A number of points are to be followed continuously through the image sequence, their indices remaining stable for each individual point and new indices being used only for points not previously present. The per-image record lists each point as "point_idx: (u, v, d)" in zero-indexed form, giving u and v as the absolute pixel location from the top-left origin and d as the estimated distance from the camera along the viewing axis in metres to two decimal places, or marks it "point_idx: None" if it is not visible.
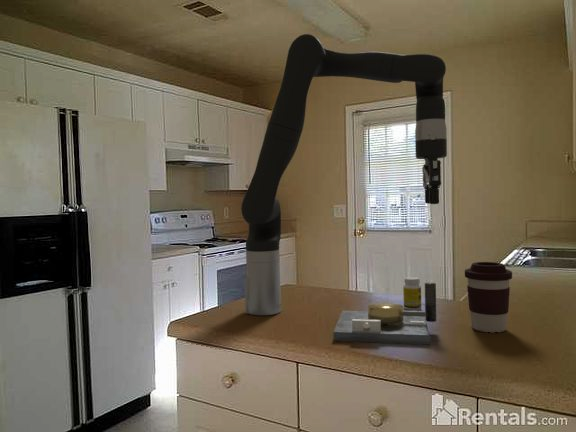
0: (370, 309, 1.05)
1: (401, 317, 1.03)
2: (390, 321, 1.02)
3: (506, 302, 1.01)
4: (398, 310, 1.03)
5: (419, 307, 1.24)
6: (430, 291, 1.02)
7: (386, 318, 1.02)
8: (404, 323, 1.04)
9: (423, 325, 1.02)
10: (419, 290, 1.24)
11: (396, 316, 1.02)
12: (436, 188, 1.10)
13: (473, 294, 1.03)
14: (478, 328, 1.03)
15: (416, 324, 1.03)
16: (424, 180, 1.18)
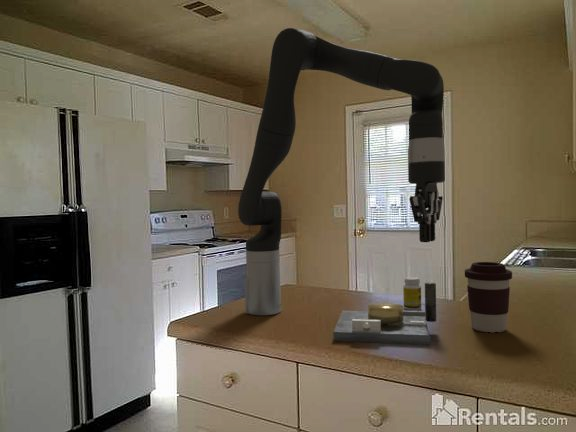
0: (370, 309, 1.05)
1: (401, 317, 1.03)
2: (390, 321, 1.02)
3: (506, 302, 1.01)
4: (398, 310, 1.03)
5: (419, 307, 1.24)
6: (430, 291, 1.02)
7: (386, 318, 1.02)
8: (404, 323, 1.04)
9: (423, 325, 1.02)
10: (419, 290, 1.24)
11: (396, 316, 1.02)
12: None
13: (473, 294, 1.03)
14: (478, 328, 1.03)
15: (416, 324, 1.03)
16: None
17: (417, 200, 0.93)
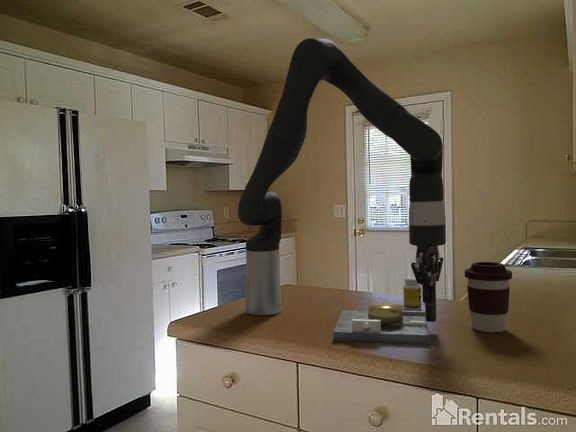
0: (370, 309, 1.05)
1: (401, 317, 1.03)
2: (390, 321, 1.02)
3: (506, 302, 1.01)
4: (398, 310, 1.03)
5: (419, 307, 1.24)
6: None
7: (386, 318, 1.02)
8: (404, 323, 1.04)
9: (423, 325, 1.02)
10: (419, 290, 1.24)
11: (396, 316, 1.02)
12: None
13: (473, 294, 1.03)
14: (478, 328, 1.03)
15: (416, 324, 1.03)
16: None
17: (419, 267, 0.94)
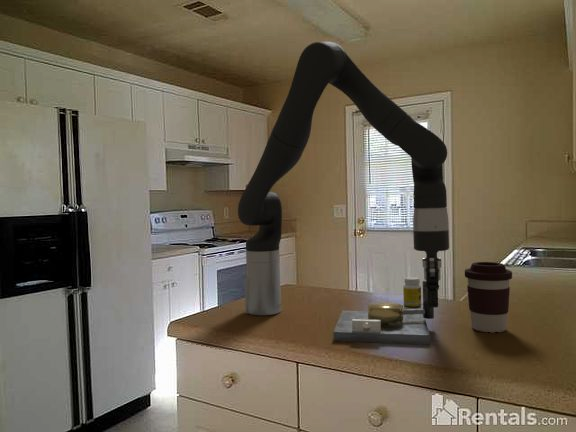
0: (372, 310, 1.04)
1: (402, 316, 1.04)
2: (394, 320, 1.02)
3: (506, 302, 1.01)
4: (400, 309, 1.03)
5: (419, 307, 1.24)
6: None
7: (390, 318, 1.02)
8: (404, 323, 1.04)
9: (423, 325, 1.02)
10: (419, 290, 1.24)
11: (399, 315, 1.03)
12: None
13: (473, 294, 1.03)
14: (478, 328, 1.03)
15: (416, 324, 1.03)
16: None
17: (434, 272, 0.96)
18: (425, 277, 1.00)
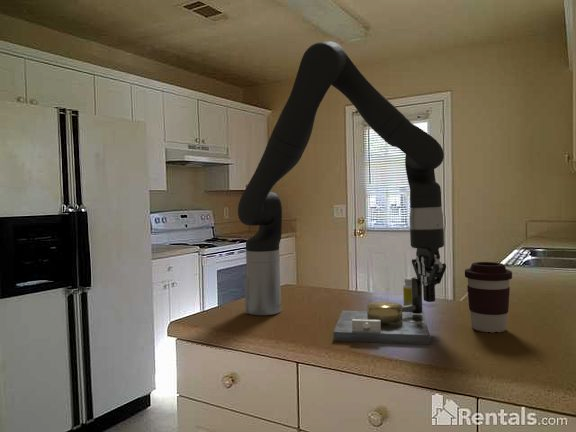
0: (379, 310, 1.03)
1: None
2: (399, 319, 1.04)
3: (506, 302, 1.01)
4: (402, 307, 1.05)
5: None
6: (420, 285, 1.10)
7: (396, 316, 1.03)
8: (404, 323, 1.04)
9: (423, 325, 1.02)
10: None
11: (401, 313, 1.05)
12: None
13: (473, 294, 1.03)
14: (478, 328, 1.03)
15: (416, 324, 1.03)
16: None
17: (442, 268, 1.01)
18: (425, 273, 1.05)
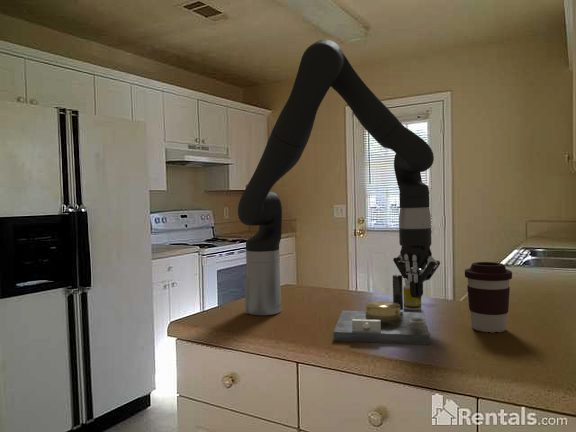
0: (386, 310, 1.03)
1: None
2: (400, 316, 1.06)
3: (506, 302, 1.01)
4: None
5: (419, 307, 1.24)
6: None
7: (399, 314, 1.05)
8: (404, 323, 1.04)
9: (423, 325, 1.02)
10: None
11: None
12: None
13: (473, 294, 1.03)
14: (478, 328, 1.03)
15: (416, 324, 1.03)
16: None
17: (437, 265, 1.07)
18: (417, 271, 1.10)
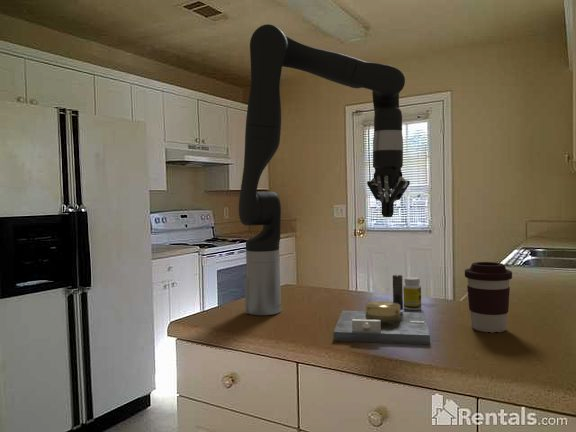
0: (386, 310, 1.03)
1: None
2: (400, 316, 1.06)
3: (506, 302, 1.01)
4: None
5: (419, 307, 1.24)
6: None
7: (399, 314, 1.05)
8: (404, 323, 1.04)
9: (423, 325, 1.02)
10: (419, 290, 1.24)
11: None
12: None
13: (473, 294, 1.03)
14: (478, 328, 1.03)
15: (416, 324, 1.03)
16: None
17: (407, 184, 1.13)
18: (388, 191, 1.16)
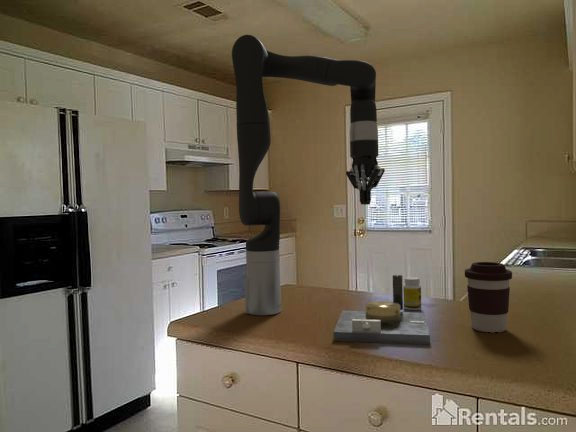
0: (386, 310, 1.03)
1: None
2: (400, 316, 1.06)
3: (506, 302, 1.01)
4: None
5: (419, 307, 1.24)
6: None
7: (399, 314, 1.05)
8: (404, 323, 1.04)
9: (423, 325, 1.02)
10: (419, 290, 1.24)
11: None
12: None
13: (473, 294, 1.03)
14: (478, 328, 1.03)
15: (416, 324, 1.03)
16: None
17: (382, 171, 1.19)
18: (365, 179, 1.21)
